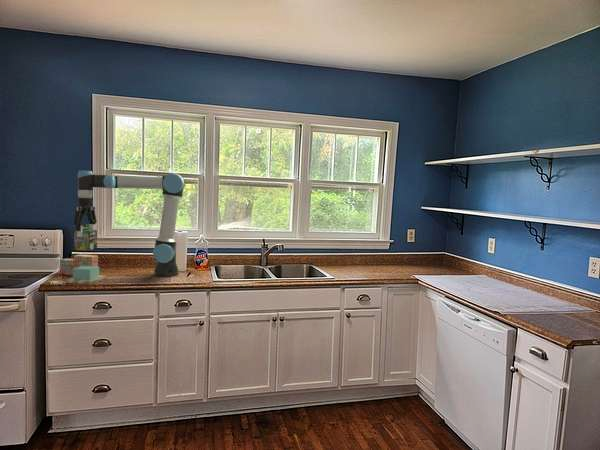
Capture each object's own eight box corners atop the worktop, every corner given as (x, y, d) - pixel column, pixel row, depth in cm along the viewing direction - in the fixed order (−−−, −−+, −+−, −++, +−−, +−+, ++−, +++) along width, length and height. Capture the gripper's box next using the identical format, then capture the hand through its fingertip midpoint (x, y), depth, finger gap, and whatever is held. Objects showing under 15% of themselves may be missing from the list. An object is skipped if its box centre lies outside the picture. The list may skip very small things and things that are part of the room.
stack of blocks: (60, 274, 250) (59, 255, 249) (66, 272, 256) (66, 253, 255) (92, 276, 247) (91, 256, 246) (98, 274, 253) (98, 255, 253)
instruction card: (69, 282, 230) (69, 281, 230) (60, 284, 223) (60, 284, 223) (53, 281, 231) (53, 280, 231) (44, 283, 224) (44, 283, 224)
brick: (99, 276, 240) (99, 266, 239) (89, 279, 230) (89, 269, 230) (82, 275, 240) (82, 265, 240) (72, 279, 230) (72, 268, 230)
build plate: (107, 278, 242) (107, 275, 242) (89, 283, 226) (89, 281, 226) (83, 276, 244) (83, 274, 244) (64, 282, 228) (64, 279, 228)
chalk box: (82, 248, 239) (82, 223, 238) (97, 248, 238) (97, 224, 237) (73, 250, 229) (73, 224, 228) (89, 250, 229) (88, 225, 228)
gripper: (91, 197, 243) (92, 234, 245) (65, 197, 221) (66, 237, 223) (103, 197, 242) (103, 234, 244) (78, 197, 220) (78, 238, 222)
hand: (85, 235), depth 233 cm, fingers closed on chalk box, 9 cm apart
